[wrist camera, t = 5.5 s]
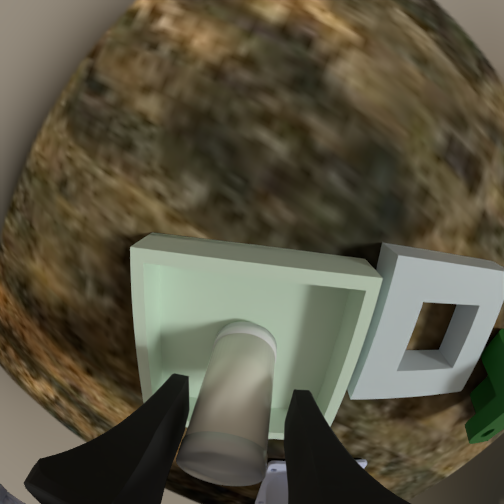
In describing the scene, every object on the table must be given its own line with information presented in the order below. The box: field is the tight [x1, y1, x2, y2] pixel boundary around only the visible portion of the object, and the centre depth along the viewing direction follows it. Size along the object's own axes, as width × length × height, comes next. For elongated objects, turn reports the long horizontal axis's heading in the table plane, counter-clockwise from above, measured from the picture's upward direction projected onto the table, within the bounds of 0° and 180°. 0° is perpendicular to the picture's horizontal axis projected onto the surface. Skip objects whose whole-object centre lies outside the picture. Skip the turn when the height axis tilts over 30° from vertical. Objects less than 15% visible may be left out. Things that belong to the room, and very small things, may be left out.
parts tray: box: [130, 233, 383, 439], centre depth 14 cm, size 10×10×2 cm
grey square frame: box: [347, 243, 504, 399], centre depth 13 cm, size 8×8×2 cm
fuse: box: [176, 322, 277, 486], centre depth 11 cm, size 3×3×7 cm
